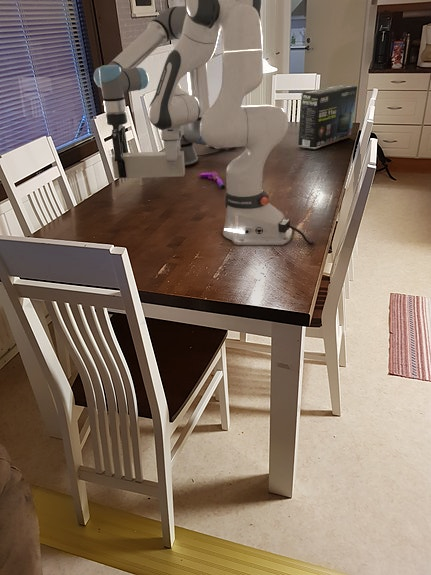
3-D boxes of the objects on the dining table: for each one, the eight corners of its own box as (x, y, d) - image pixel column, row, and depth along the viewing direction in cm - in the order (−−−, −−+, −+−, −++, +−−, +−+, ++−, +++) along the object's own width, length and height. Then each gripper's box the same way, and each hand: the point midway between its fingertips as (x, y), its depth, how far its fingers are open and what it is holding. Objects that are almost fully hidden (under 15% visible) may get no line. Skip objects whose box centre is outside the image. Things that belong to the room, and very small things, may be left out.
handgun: (199, 176, 203) (199, 172, 202) (216, 174, 204) (216, 170, 203) (207, 191, 185) (207, 186, 184) (226, 189, 186) (225, 184, 185)
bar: (185, 172, 180) (183, 151, 176) (184, 176, 176) (182, 154, 172) (117, 174, 181) (114, 153, 177) (114, 178, 177) (111, 156, 173)
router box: (314, 151, 231) (318, 94, 217) (296, 148, 237) (299, 92, 224) (352, 138, 251) (358, 85, 238) (335, 135, 258) (340, 83, 245)
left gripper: (110, 108, 175) (119, 168, 187) (99, 117, 159) (109, 182, 171) (130, 107, 174) (137, 167, 186) (120, 117, 159) (129, 182, 171)
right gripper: (166, 124, 178) (170, 159, 186) (160, 136, 161) (164, 175, 168) (183, 123, 178) (185, 159, 185) (178, 136, 161) (181, 174, 168)
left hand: (124, 174), depth 179 cm, fingers closed on bar, 5 cm apart
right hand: (175, 167), depth 177 cm, fingers open, 5 cm apart
